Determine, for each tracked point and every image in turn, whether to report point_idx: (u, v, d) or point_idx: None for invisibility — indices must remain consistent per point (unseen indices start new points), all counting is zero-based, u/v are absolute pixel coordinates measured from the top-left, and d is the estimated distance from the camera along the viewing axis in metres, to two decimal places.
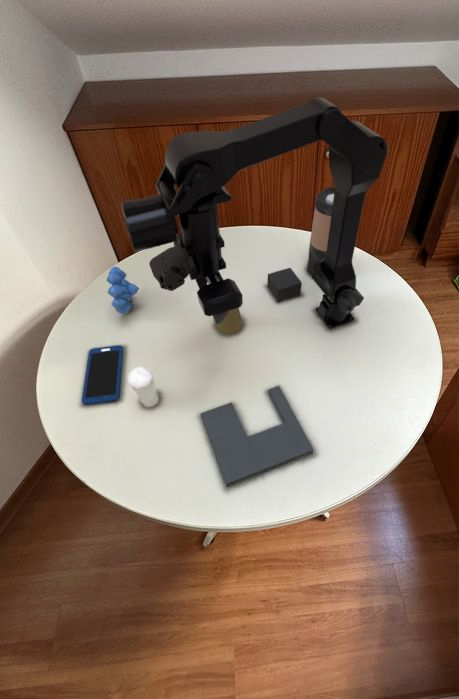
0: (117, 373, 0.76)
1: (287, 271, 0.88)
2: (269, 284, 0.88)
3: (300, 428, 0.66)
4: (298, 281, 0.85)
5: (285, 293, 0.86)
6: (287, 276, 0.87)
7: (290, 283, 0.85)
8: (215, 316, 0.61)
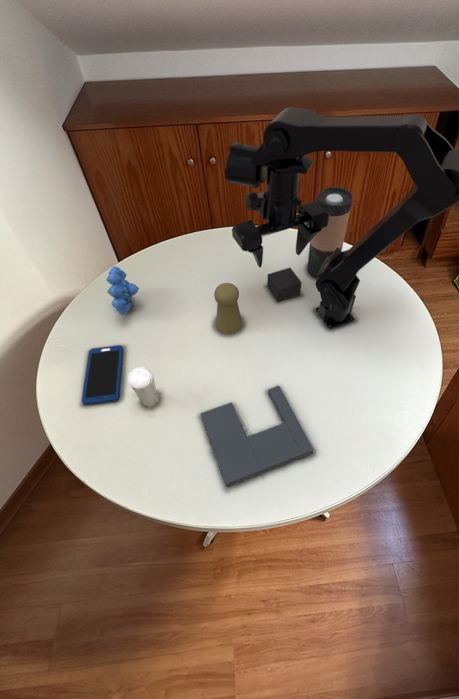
0: (117, 373, 0.76)
1: (287, 271, 0.88)
2: (269, 284, 0.88)
3: (300, 428, 0.66)
4: (298, 281, 0.85)
5: (285, 293, 0.86)
6: (287, 276, 0.87)
7: (290, 283, 0.85)
8: (253, 254, 0.76)
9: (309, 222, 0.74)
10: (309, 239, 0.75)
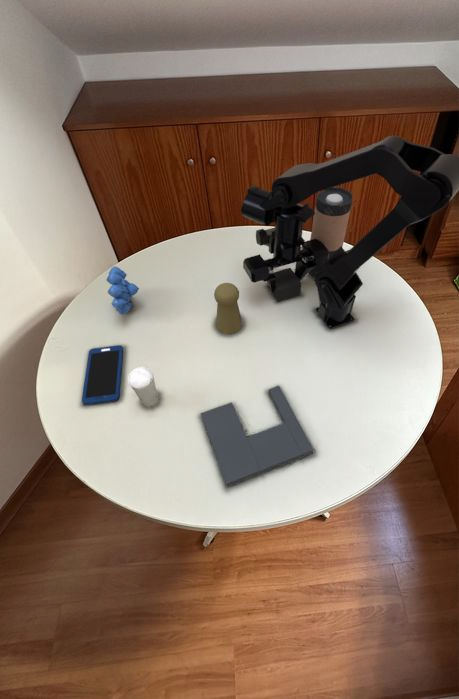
0: (117, 373, 0.76)
1: (287, 271, 0.88)
2: None
3: (300, 428, 0.66)
4: (298, 281, 0.85)
5: (285, 293, 0.86)
6: (287, 276, 0.87)
7: (290, 283, 0.85)
8: (266, 281, 0.86)
9: (306, 258, 0.83)
10: (305, 273, 0.84)
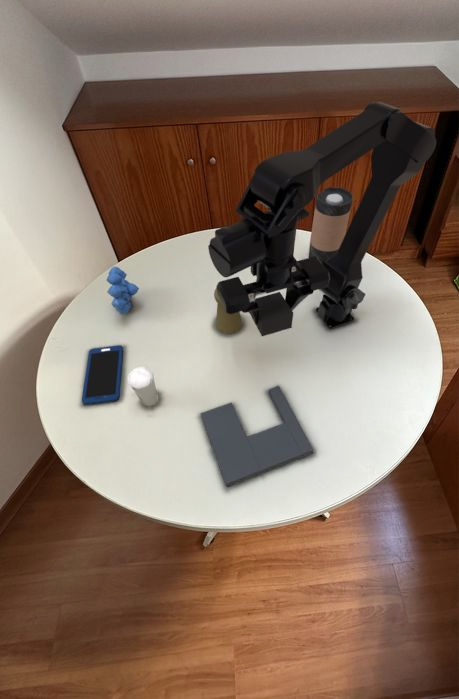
0: (117, 373, 0.76)
1: (276, 296, 0.68)
2: None
3: (300, 428, 0.66)
4: (288, 310, 0.66)
5: (272, 326, 0.66)
6: (275, 304, 0.67)
7: (279, 313, 0.66)
8: None
9: (299, 283, 0.63)
10: (298, 301, 0.64)
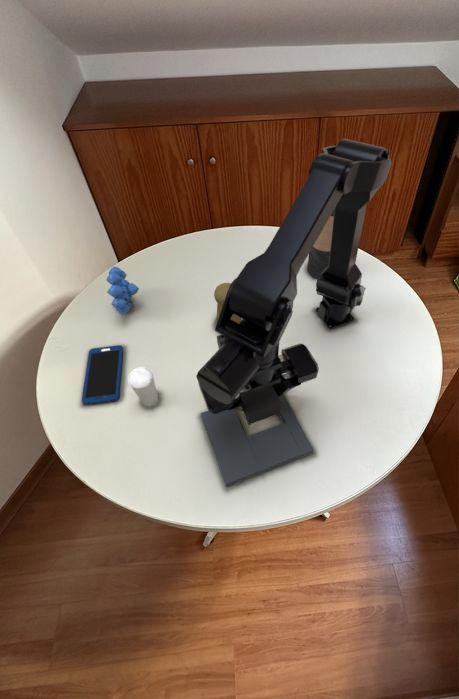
0: (117, 373, 0.76)
1: None
2: None
3: (300, 428, 0.66)
4: (276, 399, 0.62)
5: (259, 415, 0.63)
6: (262, 391, 0.63)
7: (266, 403, 0.62)
8: None
9: (286, 374, 0.59)
10: (286, 391, 0.61)
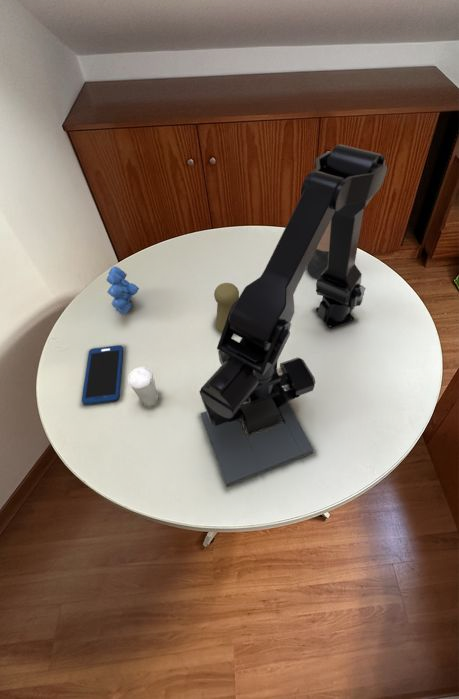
0: (117, 373, 0.76)
1: None
2: None
3: (300, 428, 0.66)
4: (275, 410, 0.65)
5: (259, 425, 0.66)
6: (261, 402, 0.66)
7: (265, 414, 0.65)
8: None
9: (286, 386, 0.62)
10: (285, 402, 0.64)
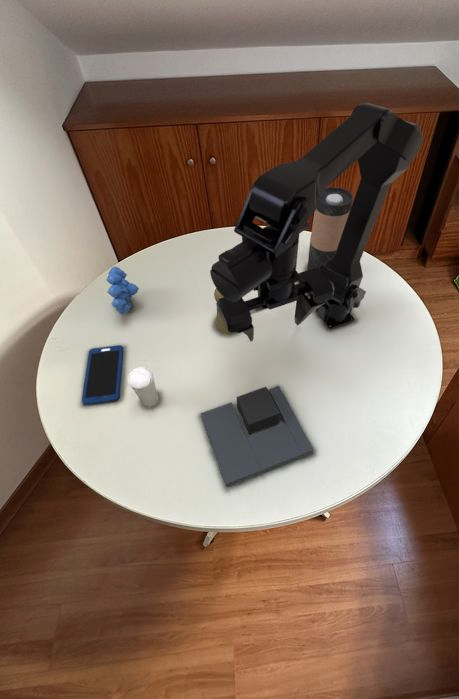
0: (117, 373, 0.76)
1: (262, 392, 0.68)
2: (239, 408, 0.68)
3: (300, 428, 0.66)
4: (275, 410, 0.65)
5: (259, 425, 0.66)
6: (261, 402, 0.66)
7: (265, 414, 0.65)
8: None
9: (310, 293, 0.61)
10: (310, 311, 0.62)
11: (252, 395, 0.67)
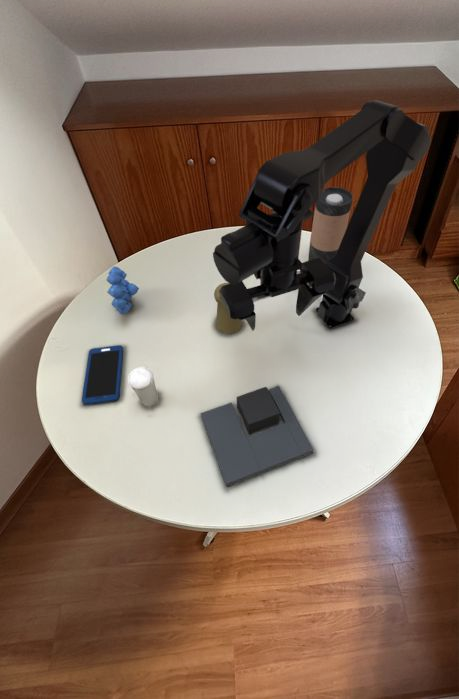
0: (117, 373, 0.76)
1: (262, 392, 0.68)
2: (239, 408, 0.68)
3: (300, 428, 0.66)
4: (275, 410, 0.65)
5: (259, 425, 0.66)
6: (261, 402, 0.66)
7: (265, 414, 0.65)
8: None
9: (312, 283, 0.62)
10: (311, 301, 0.63)
11: (252, 395, 0.67)
